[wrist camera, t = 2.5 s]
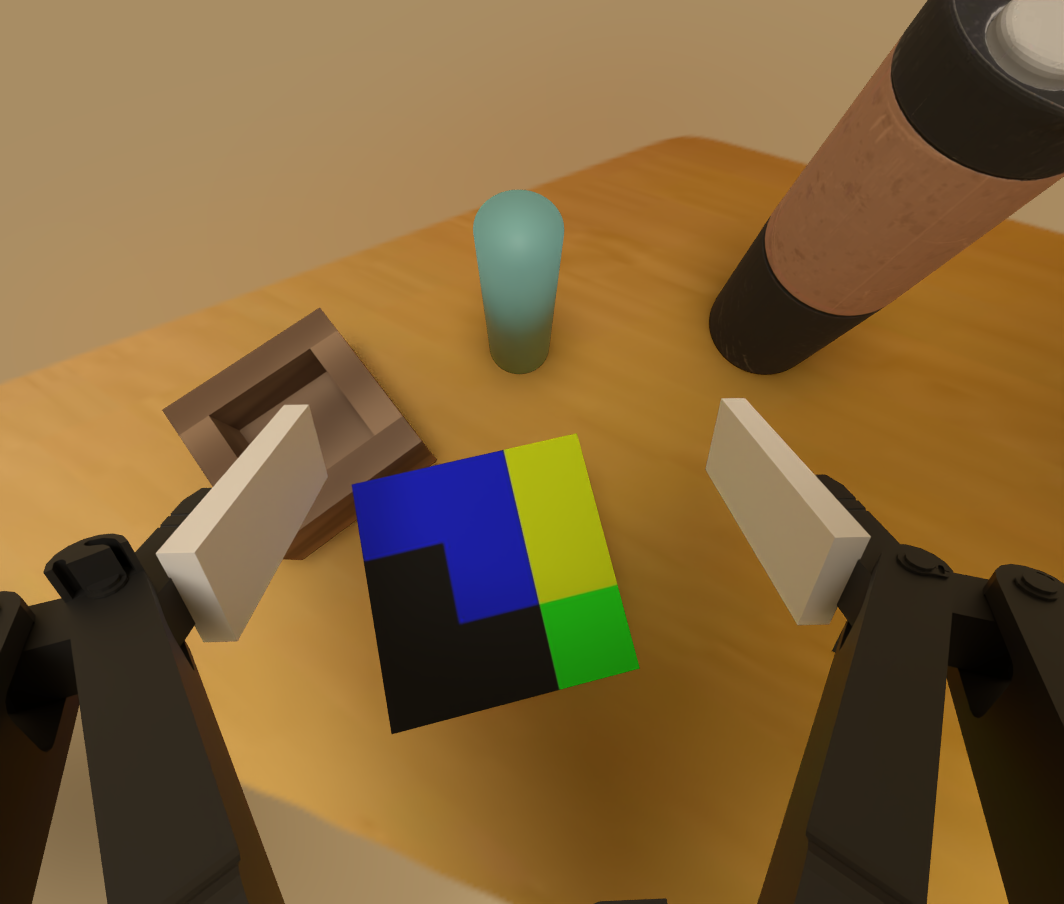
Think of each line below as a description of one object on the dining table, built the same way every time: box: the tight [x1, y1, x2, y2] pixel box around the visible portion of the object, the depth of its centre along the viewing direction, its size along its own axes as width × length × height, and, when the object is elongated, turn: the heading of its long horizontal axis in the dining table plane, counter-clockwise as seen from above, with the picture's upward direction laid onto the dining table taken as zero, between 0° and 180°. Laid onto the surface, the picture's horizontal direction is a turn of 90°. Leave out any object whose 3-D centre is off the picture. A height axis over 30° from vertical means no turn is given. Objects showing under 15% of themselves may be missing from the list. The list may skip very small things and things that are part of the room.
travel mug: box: [710, 0, 1064, 374], centre depth 25 cm, size 8×8×20 cm
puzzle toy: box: [351, 433, 639, 734], centre depth 25 cm, size 10×10×10 cm
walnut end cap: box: [162, 308, 437, 560], centre depth 29 cm, size 10×10×5 cm
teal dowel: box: [473, 190, 564, 374], centre depth 28 cm, size 4×4×12 cm
